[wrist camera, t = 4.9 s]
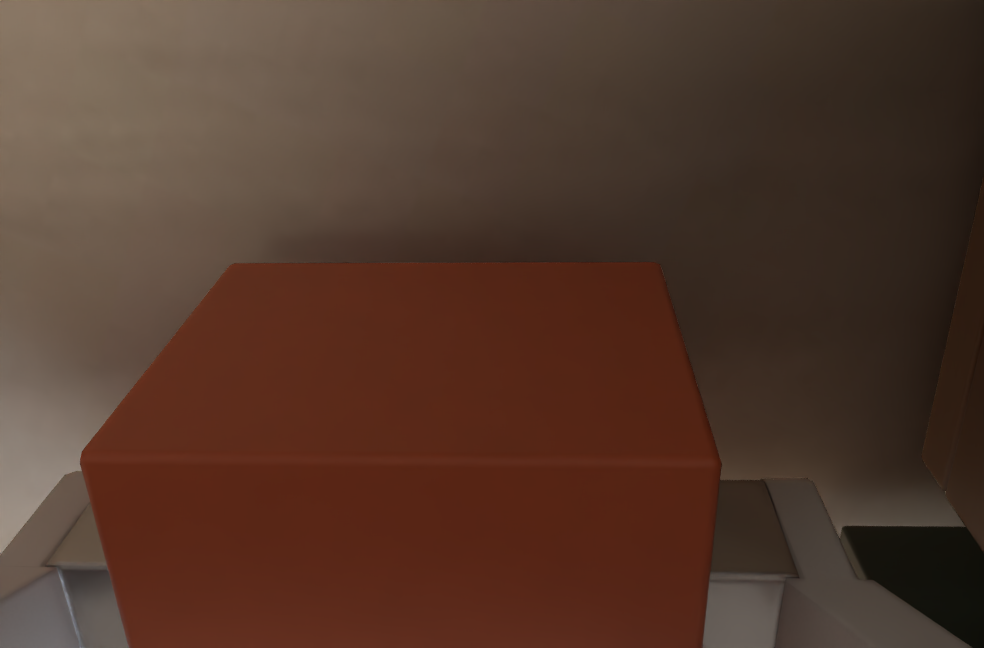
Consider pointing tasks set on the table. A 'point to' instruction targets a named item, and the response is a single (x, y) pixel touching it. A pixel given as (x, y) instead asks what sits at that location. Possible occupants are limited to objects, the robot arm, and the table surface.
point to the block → (413, 463)
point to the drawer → (944, 480)
